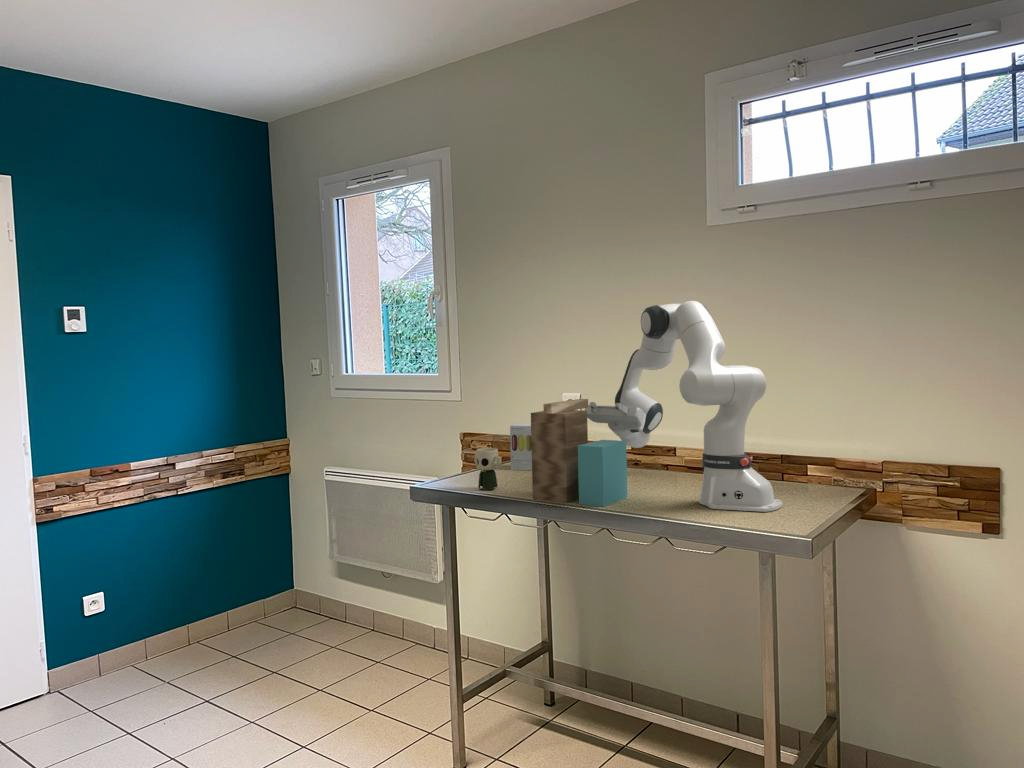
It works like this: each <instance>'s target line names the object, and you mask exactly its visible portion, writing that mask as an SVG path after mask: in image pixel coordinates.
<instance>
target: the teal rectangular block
mask: <svg viewBox="0 0 1024 768" xmlns="http://www.w3.org/2000/svg"><path fill="white" fill-rule="evenodd" d="M627 452H628V451H627V444H626V441H622V440H613V439H611V440H610V439H600V440H595V441H591V442H588V443H587V444H582V445H578V478H579V499H578V504H579V505H583V506H584V505H585V506H592V507H593V506H595V507H602V508H604V507H606V506H609V505H612V504H614V502H615V503H616V502H620V501H621V500H625V499H628V463H627V461H628V460H627V459H628V458H627V455H628V453H627ZM624 498H625V499H624ZM619 500H620V501H619Z"/></svg>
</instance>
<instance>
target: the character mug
mask: <svg viewBox="0 0 1024 768" xmlns="http://www.w3.org/2000/svg"><path fill="white" fill-rule="evenodd" d="M474 463H475V466H476V469H477V470H479V476H478V484H477V485H478V489H482V490H491V489H492V490H493V489H495V488H497V487H498V481H497V474H496V471H495V470H497V469H498V468H499V467H500V466H501V457H500V456H499V450H498V448H494V447H484V448H482V447H481V448H478V449H476V450H475V454H474ZM481 487H482V488H481Z"/></svg>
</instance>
